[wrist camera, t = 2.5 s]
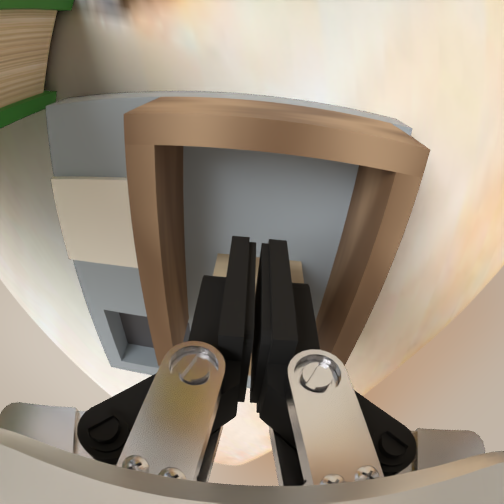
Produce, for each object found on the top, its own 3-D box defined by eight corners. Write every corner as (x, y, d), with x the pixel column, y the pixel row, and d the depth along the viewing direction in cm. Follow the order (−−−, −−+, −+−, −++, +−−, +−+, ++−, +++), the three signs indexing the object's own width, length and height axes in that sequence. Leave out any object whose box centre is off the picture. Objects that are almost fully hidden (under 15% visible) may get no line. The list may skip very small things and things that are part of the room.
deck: (395, 118, 16) (415, 130, 13) (314, 370, 30) (316, 394, 27) (67, 98, 15) (41, 107, 13) (118, 348, 29) (110, 369, 27)
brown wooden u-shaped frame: (390, 123, 14) (429, 149, 10) (328, 330, 22) (335, 381, 19) (161, 96, 14) (123, 113, 10) (172, 316, 22) (158, 365, 19)
